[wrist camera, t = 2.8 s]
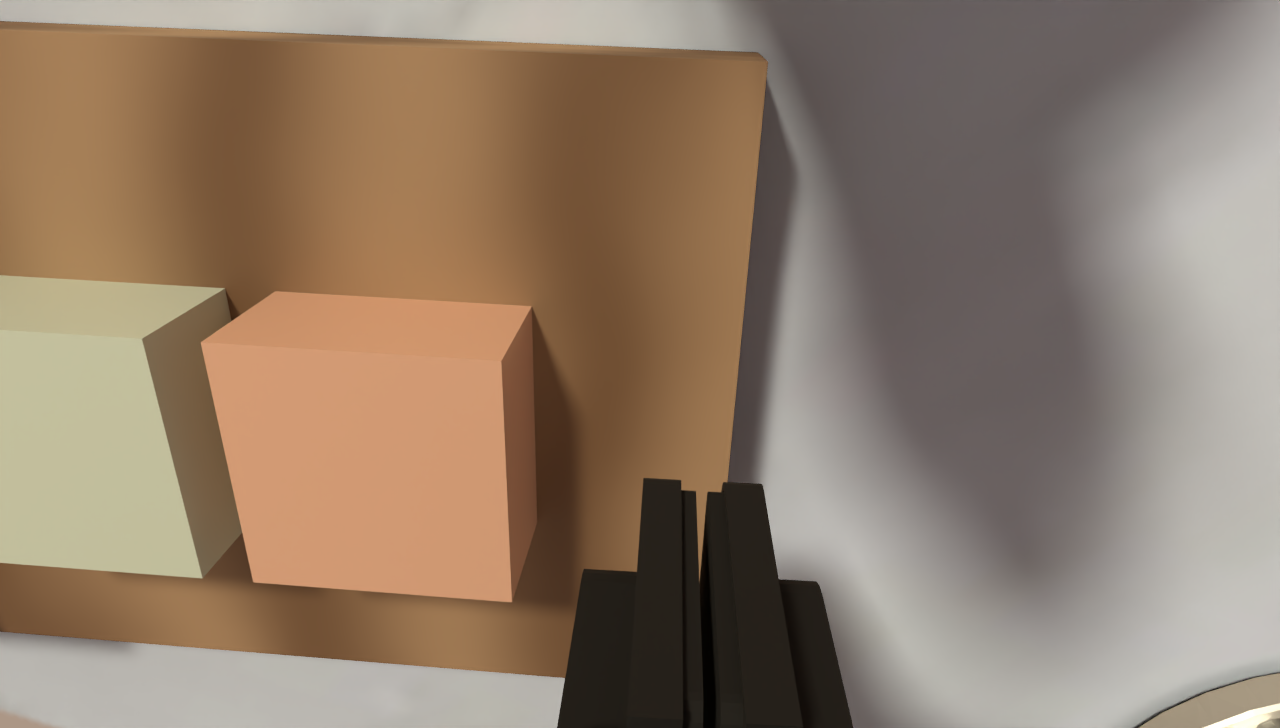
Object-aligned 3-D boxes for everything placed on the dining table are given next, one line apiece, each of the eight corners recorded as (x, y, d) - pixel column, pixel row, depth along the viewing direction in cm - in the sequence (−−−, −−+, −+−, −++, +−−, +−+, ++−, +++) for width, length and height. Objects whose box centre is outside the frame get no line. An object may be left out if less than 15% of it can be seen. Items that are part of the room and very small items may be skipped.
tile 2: (531, 306, 15) (501, 360, 13) (537, 522, 17) (511, 602, 15) (275, 291, 15) (201, 342, 13) (311, 505, 17) (253, 582, 15)
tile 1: (224, 288, 15) (142, 338, 13) (267, 502, 17) (202, 578, 15) (-22, 274, 16) (-146, 321, 13) (50, 486, 18) (-47, 559, 15)
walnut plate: (758, 52, 15) (767, 62, 13) (706, 615, 21) (707, 689, 19) (-132, 15, 16) (-269, 18, 14) (59, 565, 22) (-15, 630, 20)
